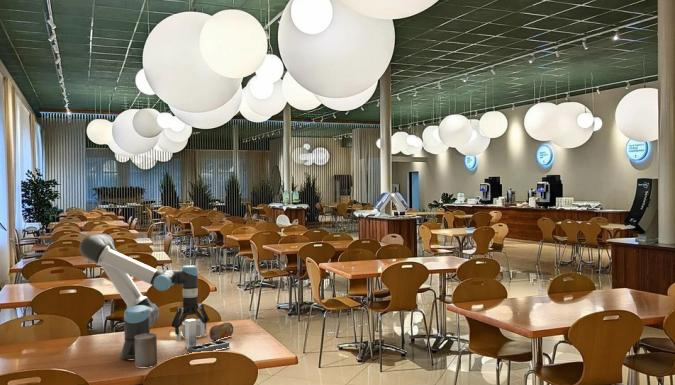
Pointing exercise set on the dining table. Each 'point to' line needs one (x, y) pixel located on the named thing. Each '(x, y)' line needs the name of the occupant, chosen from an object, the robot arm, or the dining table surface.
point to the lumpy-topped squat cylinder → (198, 327)
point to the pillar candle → (145, 350)
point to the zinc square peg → (190, 332)
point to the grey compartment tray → (209, 346)
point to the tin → (221, 331)
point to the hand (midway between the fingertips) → (190, 338)
